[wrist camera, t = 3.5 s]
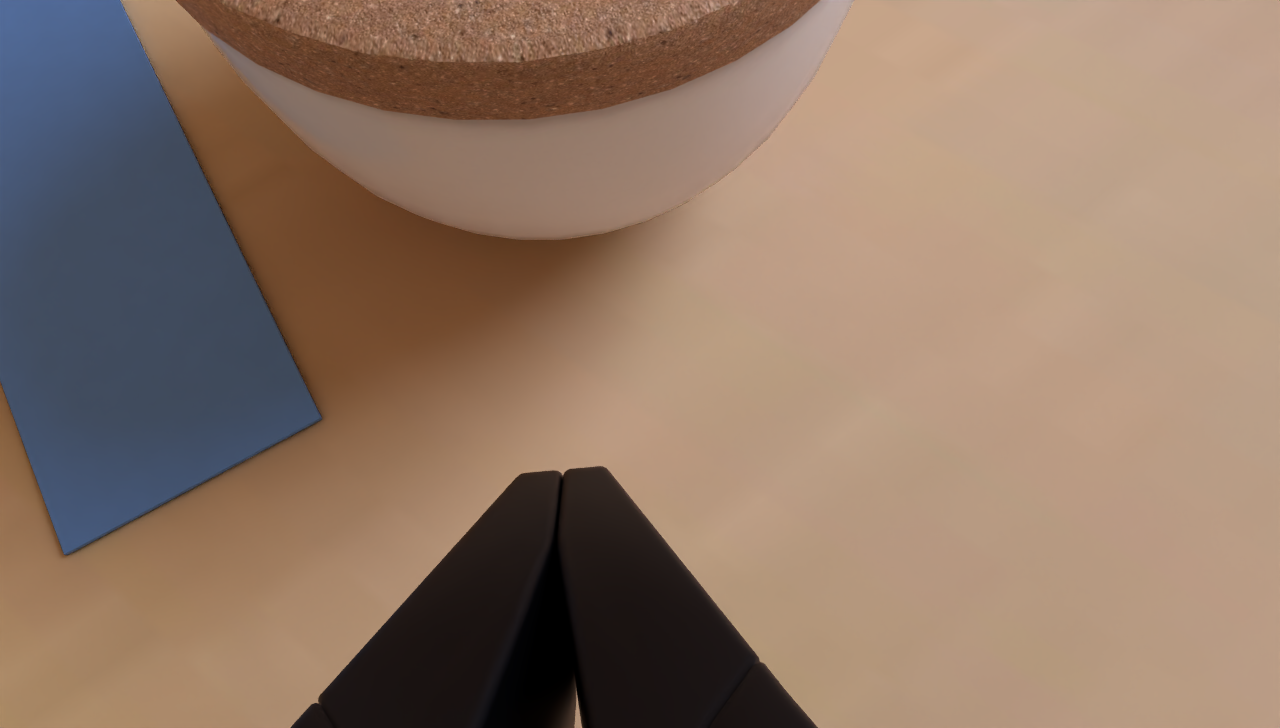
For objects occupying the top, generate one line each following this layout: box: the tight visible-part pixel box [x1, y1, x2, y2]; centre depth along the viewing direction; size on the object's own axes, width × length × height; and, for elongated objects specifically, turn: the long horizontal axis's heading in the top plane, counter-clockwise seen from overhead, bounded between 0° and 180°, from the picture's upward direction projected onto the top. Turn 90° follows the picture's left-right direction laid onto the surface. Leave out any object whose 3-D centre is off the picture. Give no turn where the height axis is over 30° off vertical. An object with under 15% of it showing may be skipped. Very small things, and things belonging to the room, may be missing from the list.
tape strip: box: [0, 0, 322, 555], centre depth 18 cm, size 5×14×1 cm, turn 30°
